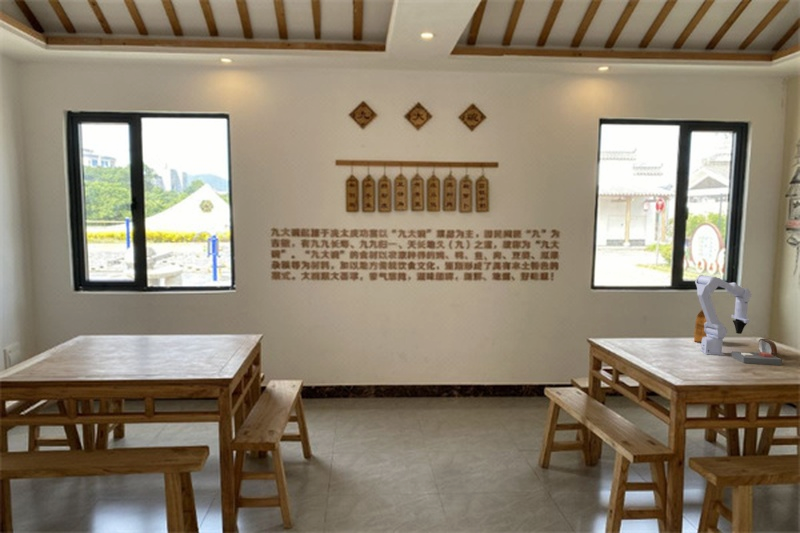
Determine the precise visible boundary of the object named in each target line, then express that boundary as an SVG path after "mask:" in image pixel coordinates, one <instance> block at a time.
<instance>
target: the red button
mask: <svg viewBox="0 0 800 533" xmlns="http://www.w3.org/2000/svg"><path fill="white" fill-rule="evenodd" d="M758 353H759V355H761V356H763V357H772V354H770V353H765V352H760V351H759V352H758Z"/></svg>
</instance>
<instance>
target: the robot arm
mask: <svg viewBox="0 0 800 533" xmlns="http://www.w3.org/2000/svg"><path fill="white" fill-rule="evenodd" d="M694 284H695V286H696V295H697V297H698V301H699V303H700V307H701V310H703V312H704V315H705V318H706V321H707V322H706V323H705V324H704V327H705V329H704V331H705V333H706V336H707V337H703V338H702V342H700V352H702V353H704V354H705V355H716V356H717V355H719V356H721V355H722V356H725V355H726V354H725V353H723V351H722V350H723V342H724V341H723V340H724V339H725V337H726V336H727V335H728V329H727V328H726V327H725V325H724V323H722V322H721V321H720V320H719V318H718V314H717V312H716V309H715V306H714V304H713V301H712V298H711V294H713V293H714V292H715V291H716V289H717V288H718V287H720V288H722V289H725V292H726V293H729V294H731V295H733V297H734V298H735V303H734V313H733V314H731V319H733V320H732V322H733V323H732V324H733V325H734V327H735V333H736V334H737V335H741V334H742V333H743V331H744V329H745V327H746V326H747V324H750V319H749V317H748V315H747V314H748V305H749V301H750V298H751V297H752V292H751V290H750V289H749V288H745V287H743V286H742V285H738V284H737V282H727V281H725V280H723V279H721V278H720V277H717V276H711V275H710V276H709V275H703V274H700V275H698V276H697V278H696V279H695V281H694Z"/></svg>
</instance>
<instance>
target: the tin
mask: <svg viewBox="0 0 800 533" xmlns="http://www.w3.org/2000/svg"><path fill="white" fill-rule="evenodd" d="M777 348H778V347H777V345H776V343H775V342H774V341H772V340H771V339H768V338H760V339H758V350H759V353H760V352H765V353H770V354H772V355H773V356H775V357H777V353H778V349H777Z"/></svg>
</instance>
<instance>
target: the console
mask: <svg viewBox="0 0 800 533" xmlns="http://www.w3.org/2000/svg"><path fill="white" fill-rule="evenodd" d="M741 353H750V354H752V355H753V356H744V355H742V354H741ZM759 353H760V352H752V351H751V352H749V351H731V358H732V359H735V360H737V361H739V362H741V363H742V364H748V365H749V364H753V365H771V366H782V365H783V359H782V358H780V357H778V356H773V355H772V357H763V356H761V355H759Z"/></svg>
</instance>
